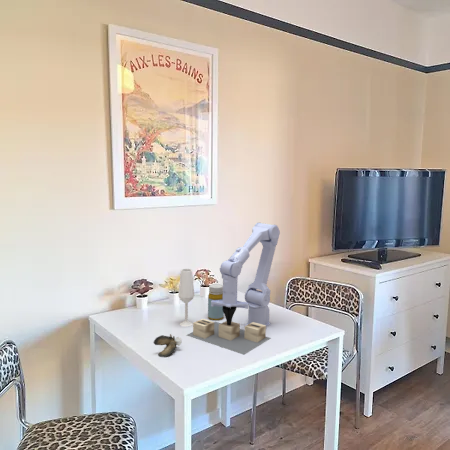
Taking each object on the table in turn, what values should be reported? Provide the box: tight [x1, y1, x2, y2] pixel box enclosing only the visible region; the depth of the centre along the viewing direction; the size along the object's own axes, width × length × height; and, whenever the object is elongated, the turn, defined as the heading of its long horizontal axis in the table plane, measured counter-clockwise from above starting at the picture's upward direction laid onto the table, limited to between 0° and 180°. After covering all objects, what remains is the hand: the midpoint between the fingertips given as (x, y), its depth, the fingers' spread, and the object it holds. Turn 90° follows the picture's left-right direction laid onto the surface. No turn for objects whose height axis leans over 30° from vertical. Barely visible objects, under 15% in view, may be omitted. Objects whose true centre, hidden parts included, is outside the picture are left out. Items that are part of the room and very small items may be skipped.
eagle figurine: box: [153, 333, 183, 358], centre depth 152 cm, size 8×7×9 cm
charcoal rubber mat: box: [186, 321, 272, 355], centre depth 166 cm, size 19×28×1 cm
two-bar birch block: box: [192, 318, 215, 339], centre depth 168 cm, size 6×6×5 cm
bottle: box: [207, 283, 225, 321], centre depth 186 cm, size 7×7×15 cm
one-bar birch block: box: [244, 322, 267, 342], centre depth 165 cm, size 6×6×5 cm
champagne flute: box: [178, 268, 195, 328], centre depth 178 cm, size 7×7×24 cm
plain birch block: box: [219, 320, 241, 340], centre depth 166 cm, size 6×6×5 cm
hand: (229, 324), depth 166 cm, fingers closed, pressing on plain birch block
